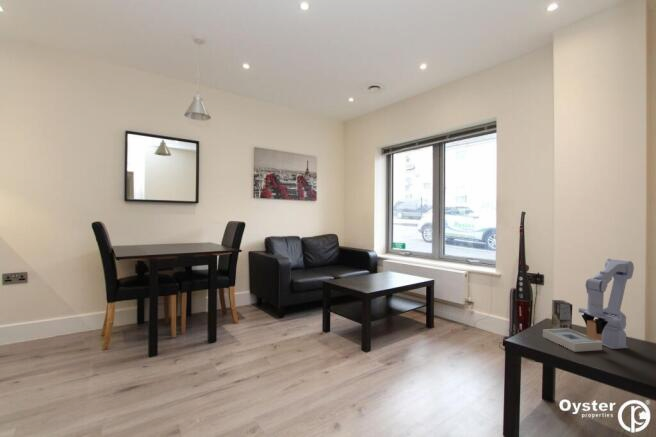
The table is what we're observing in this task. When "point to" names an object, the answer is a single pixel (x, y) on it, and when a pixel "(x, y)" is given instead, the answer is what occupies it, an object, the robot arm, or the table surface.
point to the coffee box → (561, 314)
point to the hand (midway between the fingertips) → (594, 331)
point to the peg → (592, 330)
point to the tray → (570, 344)
